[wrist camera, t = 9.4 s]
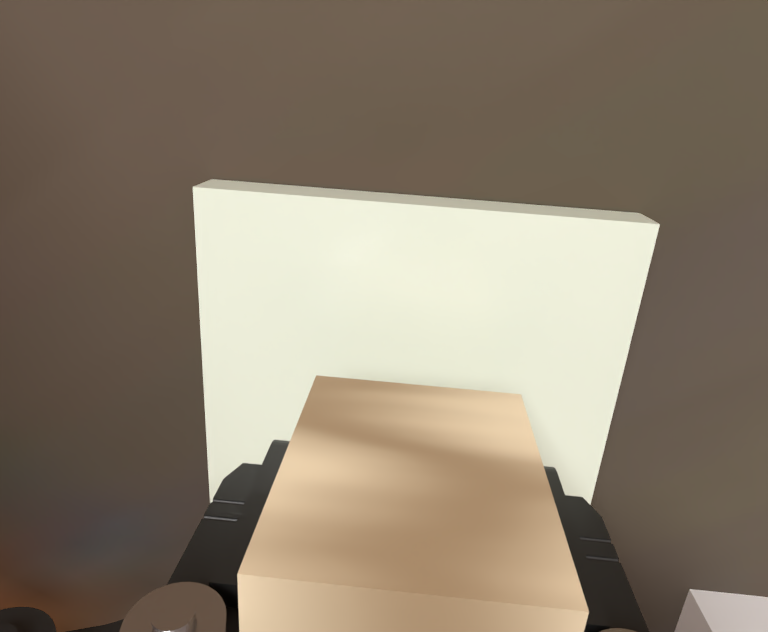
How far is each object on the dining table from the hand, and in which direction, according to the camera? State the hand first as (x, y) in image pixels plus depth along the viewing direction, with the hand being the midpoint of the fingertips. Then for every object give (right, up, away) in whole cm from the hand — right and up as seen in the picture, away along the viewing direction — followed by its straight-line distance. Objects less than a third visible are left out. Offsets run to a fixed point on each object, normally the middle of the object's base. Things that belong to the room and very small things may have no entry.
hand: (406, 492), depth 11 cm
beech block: (0, 0, +1) cm, 1 cm away
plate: (0, +2, +4) cm, 4 cm away
